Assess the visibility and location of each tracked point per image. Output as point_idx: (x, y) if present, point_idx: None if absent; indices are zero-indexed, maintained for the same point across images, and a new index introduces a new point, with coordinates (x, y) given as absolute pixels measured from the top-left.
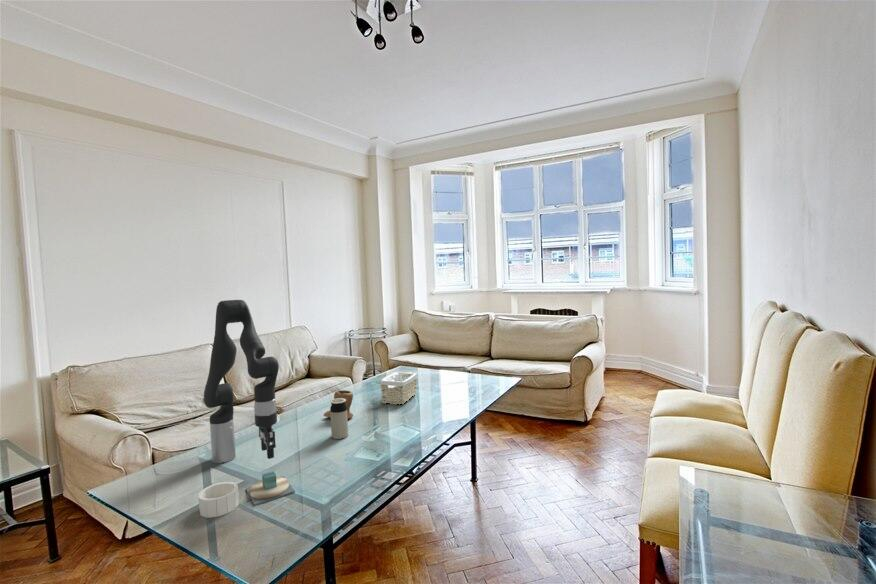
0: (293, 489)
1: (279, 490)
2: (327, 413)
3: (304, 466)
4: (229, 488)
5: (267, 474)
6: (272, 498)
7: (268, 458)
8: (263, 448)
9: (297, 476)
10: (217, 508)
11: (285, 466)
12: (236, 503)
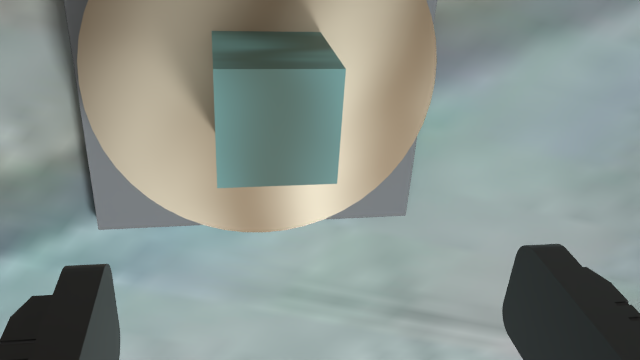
0: (127, 227)
1: (120, 135)
2: None
3: (454, 347)
4: None
5: (292, 117)
6: (73, 50)
7: (66, 274)
8: (535, 283)
9: (347, 286)
10: None
11: None
12: None
